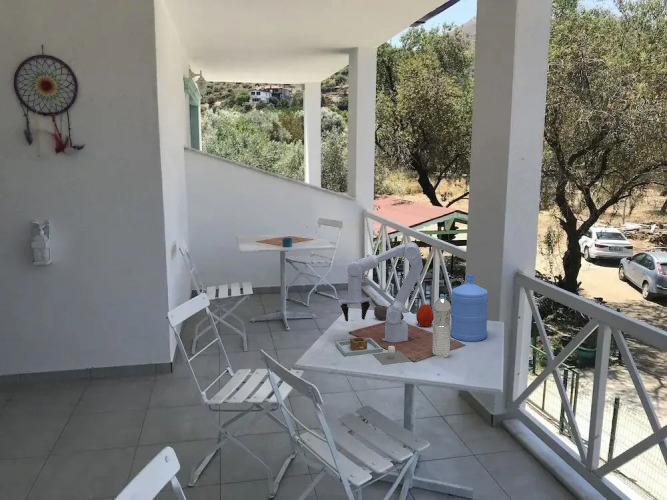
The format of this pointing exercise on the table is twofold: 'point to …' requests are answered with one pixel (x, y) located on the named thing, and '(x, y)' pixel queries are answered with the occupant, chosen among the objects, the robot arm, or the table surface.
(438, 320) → the water bottle
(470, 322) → the water jug
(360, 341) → the walnut collar
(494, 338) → the table surface
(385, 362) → the post board
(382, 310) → the perforated stone tool
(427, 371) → the table surface
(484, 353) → the table surface
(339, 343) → the pale green tray
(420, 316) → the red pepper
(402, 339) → the robot arm
